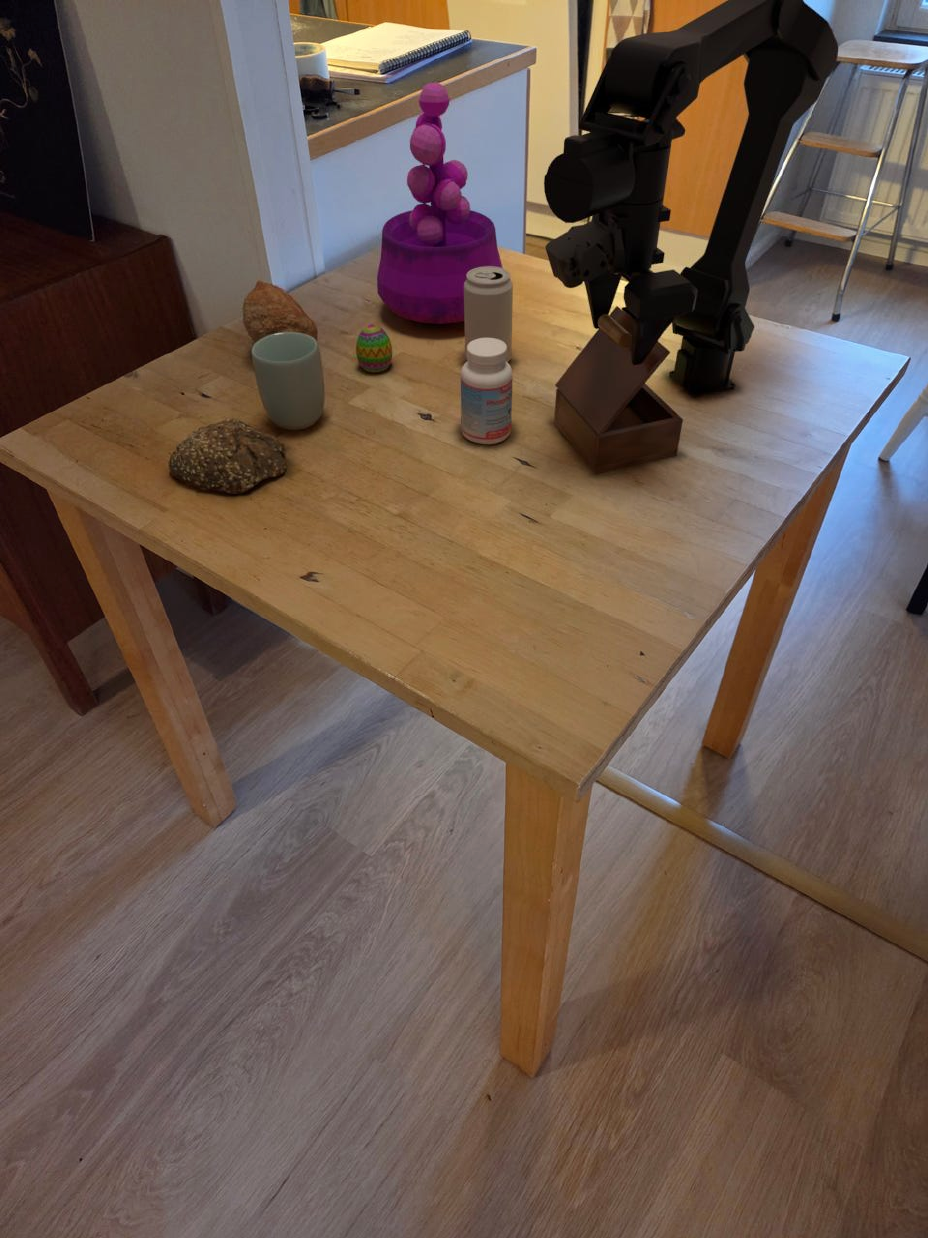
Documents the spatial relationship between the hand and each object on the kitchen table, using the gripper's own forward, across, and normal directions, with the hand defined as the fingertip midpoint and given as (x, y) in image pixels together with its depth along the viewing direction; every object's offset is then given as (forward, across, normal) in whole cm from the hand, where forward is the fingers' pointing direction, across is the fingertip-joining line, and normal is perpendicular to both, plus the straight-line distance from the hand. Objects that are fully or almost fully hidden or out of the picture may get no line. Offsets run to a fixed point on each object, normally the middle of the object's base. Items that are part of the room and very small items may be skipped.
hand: (617, 345), depth 93 cm
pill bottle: (+12, -7, -13) cm, 19 cm away
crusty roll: (+12, -36, -32) cm, 50 cm away
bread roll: (+12, -11, -43) cm, 46 cm away
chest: (+12, 0, +1) cm, 12 cm away
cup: (+12, -18, -34) cm, 40 cm away
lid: (+3, 0, 0) cm, 3 cm away
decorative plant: (+12, -41, -7) cm, 43 cm away
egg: (+12, -28, -21) cm, 37 cm away
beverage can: (+12, -24, -6) cm, 28 cm away
